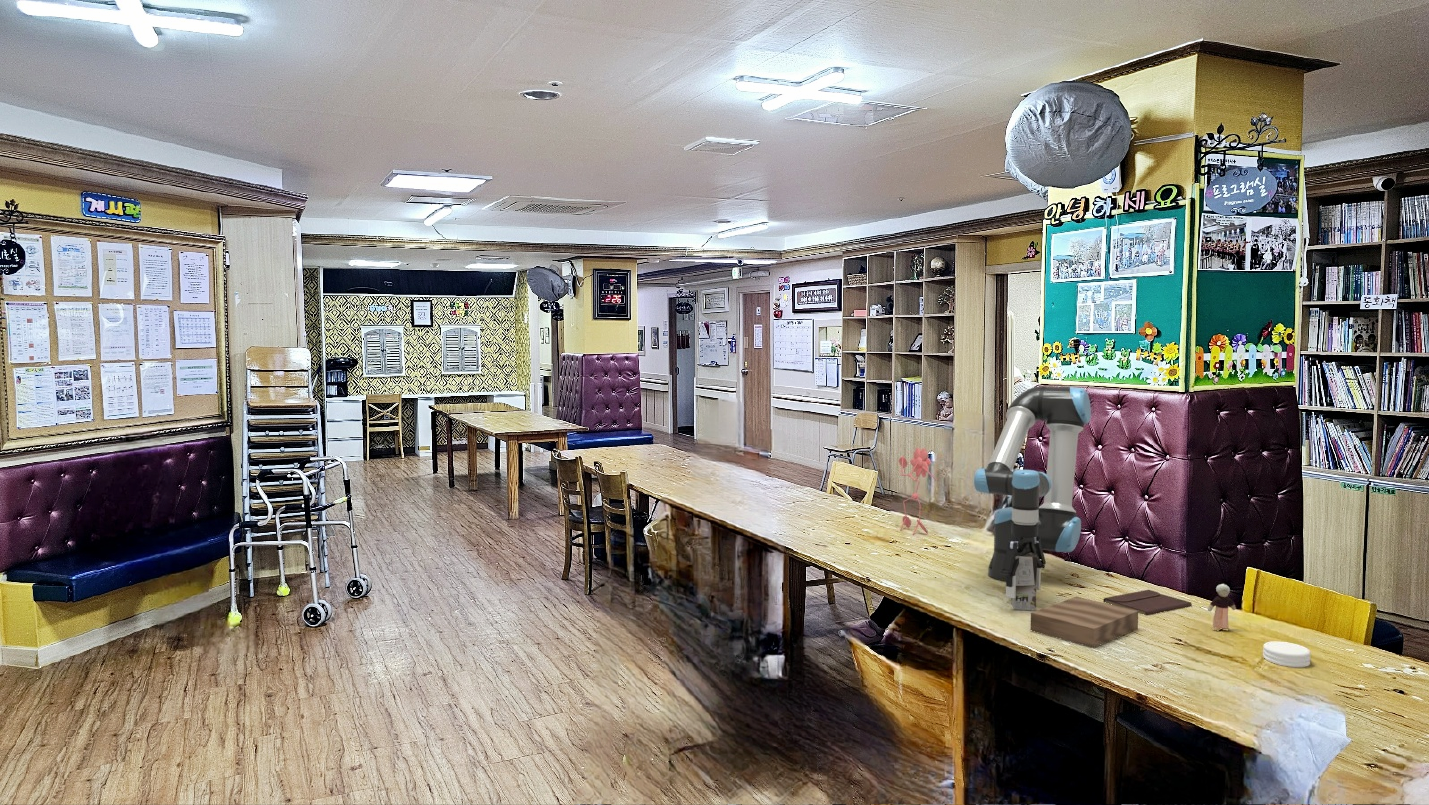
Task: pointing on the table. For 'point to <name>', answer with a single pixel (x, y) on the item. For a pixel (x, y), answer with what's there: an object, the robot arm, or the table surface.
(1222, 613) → the grandmother figurine
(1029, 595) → the coffee box
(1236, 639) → the table surface
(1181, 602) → the notebook
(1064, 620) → the walnut step
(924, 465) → the figurine
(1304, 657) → the white round tin
